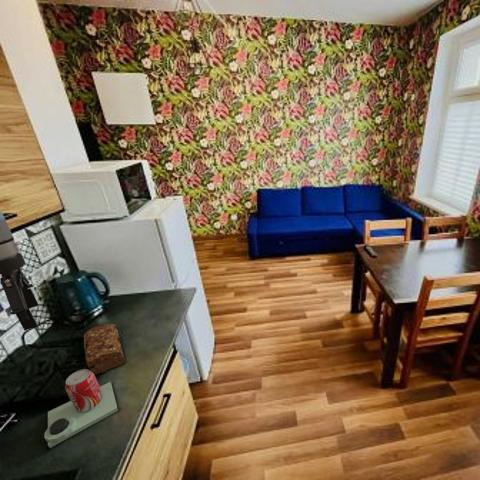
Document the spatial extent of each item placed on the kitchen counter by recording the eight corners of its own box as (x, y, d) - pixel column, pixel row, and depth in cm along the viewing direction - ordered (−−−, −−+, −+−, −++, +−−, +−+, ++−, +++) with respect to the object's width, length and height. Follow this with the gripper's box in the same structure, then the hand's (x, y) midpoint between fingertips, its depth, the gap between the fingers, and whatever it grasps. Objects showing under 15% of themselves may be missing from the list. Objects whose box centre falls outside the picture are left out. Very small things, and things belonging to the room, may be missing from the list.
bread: (90, 348, 109) (81, 329, 105) (121, 336, 115) (114, 318, 112) (91, 378, 96) (82, 358, 92) (127, 363, 102) (119, 343, 98)
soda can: (70, 409, 84) (56, 382, 80) (94, 390, 90) (83, 364, 86) (85, 417, 82) (72, 390, 77) (109, 397, 88) (98, 371, 83)
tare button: (51, 437, 75) (49, 433, 75) (51, 427, 78) (49, 423, 77) (68, 428, 78) (66, 424, 77) (68, 419, 80) (66, 415, 79)
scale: (48, 451, 75) (44, 444, 73) (48, 415, 84) (44, 409, 83) (118, 412, 85) (115, 406, 84) (111, 384, 94) (109, 378, 93)
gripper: (17, 268, 69) (48, 331, 78) (23, 240, 86) (48, 295, 94) (-28, 278, 65) (10, 344, 73) (-12, 246, 81) (17, 303, 90)
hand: (32, 317), depth 84 cm, fingers open, 13 cm apart
